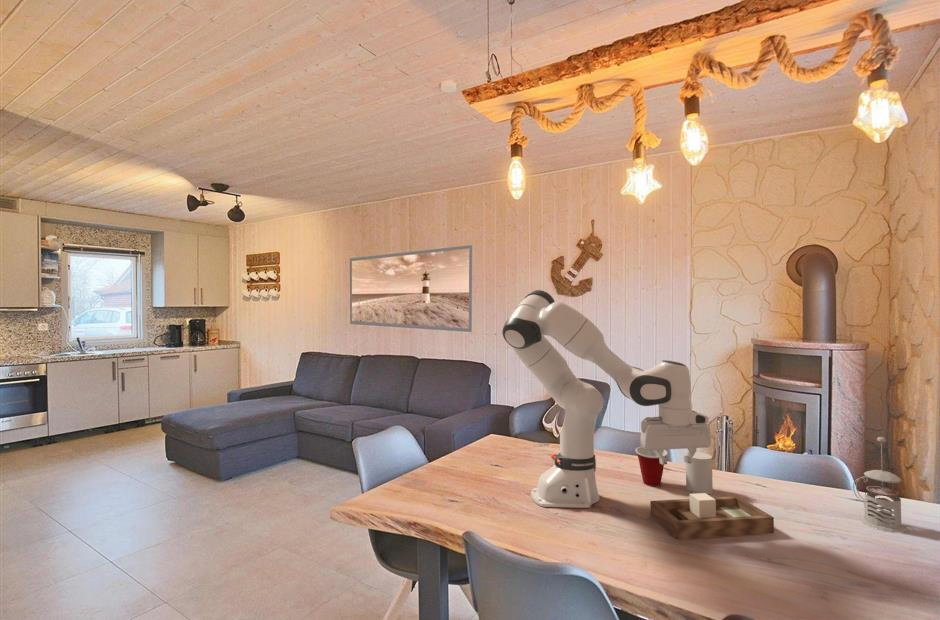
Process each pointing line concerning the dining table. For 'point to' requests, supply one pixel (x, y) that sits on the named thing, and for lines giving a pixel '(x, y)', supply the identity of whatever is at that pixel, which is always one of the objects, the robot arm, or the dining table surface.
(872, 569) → the dining table surface
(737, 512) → the box
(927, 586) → the dining table surface
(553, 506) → the robot arm
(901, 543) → the dining table surface
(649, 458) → the plastic cup
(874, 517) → the french press
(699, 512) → the block
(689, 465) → the beige cylinder
